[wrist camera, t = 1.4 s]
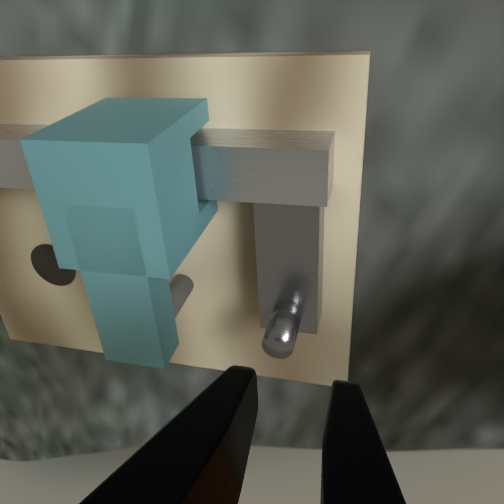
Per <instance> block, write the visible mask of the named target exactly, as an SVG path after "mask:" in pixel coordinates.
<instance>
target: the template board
mask: <svg viewBox="0 0 504 504" xmlns="http://www.w3.org/2000/svg"><path fill="white" fill-rule="evenodd" d="M370 52H371V51H326V52H266V53H206V54H145V55H85V56H25V57H0V124H37V125H51V124H53V123H55V122H57V121H59V120H61V119H63V118H65V117H67V116H69V115H71V114H73V113H75V112H77V111H80V110H82V109H84V108H86V107H88V106H90V105H92V104H94V103H96V102H98V101H100V100H102V99H104V98H207V102H208V112H209V122H207V123H206V124H205V125H204V126H203V127H202V128H218V129H263V130H309V131H335V152H334V179H333V187H332V191H331V195H330V198H329V202H328V206H327V207H325V211H324V248H323V284H322V312H321V317H320V322H319V327H318V332H317V335H316V334H308V333H299V332H298V334H297V338H296V342H295V346H294V350H293V353H292V354H291V356H289V357H288V358H285V359H276V358H273V357H271V356H269V355H267V354H266V353H265V352H264V350H263V348H262V340H263V337H264V334H265V331H266V328H260V317H259V299H258V281H257V263H256V246H255V228H254V210H253V203H250V202H233V201H217V204H218V211H217V213H216V214H215V216H214V217H213V218H212V220H211V221H210V223H209V224H208V226H207V227H206V229H205V230H204V231H203V233H202V234H201V236H200V237H199V239H198V240H197V241H196V243H195V244H194V246H193V247H192V249H191V250H190V252H189V253H188V254H187V256H186V257H185V259H184V260H183V262H182V263H181V265H180V266H179V267H178V269H177V270H176V272H175V273H174V275H173V276H172V278H171V279H168V280H169V284H170V283H171V281H172V280H173V278H174V277H175V276H176V275H179V274H183V275H186V276H188V277H189V278H191V280H192V281H193V283H194V288H193V290H192V292H191V293H190V295H189V297H188V298H187V300H186V301H185V303H184V305H183V306H182V308H181V310H180V311H179V313H178V315H177V316H176V318H175V321H176V327H177V332H178V338H179V345H178V347H177V348H176V350H175V352H174V354H173V356H172V357H171V359H170V361H169V363H176V364H183V365H190V366H197V367H203V368H210V369H217V370H224V371H225V370H227V369H228V368H229V367H230V366H233V365H238V366H245V367H252V368H253V369H255V371H256V375H258V376H265V377H272V378H279V379H285V380H292V381H299V382H306V383H313V384H320V385H327V386H332V383H333V381H334V380H344V381H348V372H349V358H350V343H351V329H352V314H353V299H354V285H355V270H356V256H357V241H358V227H359V212H360V198H361V183H362V169H363V154H364V139H365V125H366V110H367V96H368V81H369V67H370ZM0 315H1V318H2V320H3V322H4V325H5V327H6V330H7V332H8V335H9V337H10V339H12V340H19V341H26V342H33V343H39V344H46V345H53V346H60V347H67V348H74V349H80V350H87V351H94V352H101V353H103V349H102V346H101V342H100V338H99V335H98V331H97V328H96V324H95V321H94V317H93V313H92V310H91V306H90V303H89V299H88V296H87V292H86V289H85V285H84V281H83V278H82V274H81V271H80V270H73V269H63V268H59V266H58V262H57V259H56V256H55V253H54V249H53V246H52V243H51V240H50V236H49V233H48V230H47V226H46V223H45V220H44V217H43V213H42V210H41V207H40V204H39V200H38V197H37V194H36V191H35V190H31V189H14V188H0Z"/></svg>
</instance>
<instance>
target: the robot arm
mask: <svg viewBox="0 0 504 504" xmlns="http://www.w3.org/2000/svg"><path fill="white" fill-rule="evenodd" d="M257 411H258V391H257V376H256V371H255V369H253V368H252V367H245V366H238V365H233V366H230V367H229V368H228V369H227V370H225V371H224V372H223V373H222V374H221V375H220V376H219V377H218V378H217V379H216V380H214V381H213V382H212V383H211V384H210V385H209V386H208V387H207V388H206V389H205V390H203V391H202V392H201V393H200V394H199V395H198V396H197V397H196V398H195V399H194V400H192V401H191V402H190V403H189V404H188V405H187V406H186V407H185V408H184V409H183V410H181V411H180V412H179V413H178V414H177V415H176V416H175V417H174V418H173V419H172V420H170V421H169V422H168V423H167V424H166V425H165V426H164V427H163V428H162V429H161V430H159V431H158V432H157V433H156V434H155V435H154V436H153V437H152V438H151V439H150V440H148V441H147V442H146V443H145V444H144V445H143V446H142V447H141V448H140V449H139V450H138V451H136V452H135V453H134V454H133V455H132V456H131V457H130V458H129V459H128V460H127V461H125V462H124V463H123V464H122V465H121V466H120V467H119V468H118V469H117V470H116V471H114V472H113V473H112V474H111V475H110V476H109V477H108V478H107V479H106V480H105V481H103V482H102V483H101V484H100V485H99V486H98V487H97V488H96V489H95V490H94V491H93V492H91V493H90V494H89V495H88V496H87V497H86V498H85V499H84V500H83V501H82V502H80V503H79V504H238V501H239V496H240V492H241V488H242V484H243V479H244V474H245V470H246V465H247V460H248V455H249V450H250V446H251V441H252V436H253V432H254V427H255V422H256V417H257ZM321 504H406V502H405V500H404V497H403V495H402V492H401V489H400V487H399V484H398V482H397V479H396V477H395V474H394V472H393V469H392V467H391V464H390V461H389V459H388V457H387V454H386V451H385V449H384V446H383V444H382V441H381V439H380V436H379V434H378V431H377V428H376V426H375V423H374V421H373V418H372V416H371V413H370V411H369V408H368V406H367V403H366V400H365V398H364V395H363V393H362V390H361V388H360V386H359V384H358V383H356V382H351V381H344V380H334V381H333V383H332V387H331V393H330V399H329V405H328V411H327V417H326V423H325V429H324V435H323V444H322V475H321Z"/></svg>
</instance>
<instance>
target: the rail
mask: <svg viewBox="0 0 504 504" xmlns="http://www.w3.org/2000/svg"><path fill="white" fill-rule="evenodd" d="M47 126H49V125H37V124H0V188H14V189H31V190H35V187H34V184H33V181H32V177H31V174H30V171H29V168H28V164H27V161H26V158H25V155H24V151H23V148H22V145H21V142H20V139H22V138H24V137H27V136H29V135H31V134H33V133H35V132H37V131H39V130H41V129H43V128H45V127H47ZM190 142H191V150H192V158H193V167H194V175H195V183H196V192H197V199H200V200H217V201H233V202H250V203H267V204H284V205H301V206H318V207H327V206H328V202H329V198H330V195H331V191H332V187H333V179H334V152H335V131H309V130H263V129H218V128H201V129H200V130H198V131H197V132H196V133H195V134H194V135H193V136H192V137H191V138H190Z"/></svg>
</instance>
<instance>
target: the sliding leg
mask: <svg viewBox="0 0 504 504" xmlns="http://www.w3.org/2000/svg"><path fill="white" fill-rule="evenodd" d="M207 122H209V112H208V102H207V98H104V99H102V100H100V101H98V102H96V103H94V104H92V105H90V106H88V107H86V108H84V109H82V110H80V111H77V112H75V113H73V114H71V115H69V116H67V117H65V118H63V119H61V120H59V121H57V122H55V123H53V124H51V125H49V126H47V127H45V128H43V129H41V130H39V131H37V132H35V133H33V134H31V135H29V136H27V137H24V138H22V139H20V142H21V145H22V148H23V151H24V155H25V158H26V161H27V164H28V168H29V171H30V174H31V177H32V181H33V184H34V187H35V191H36V194H37V197H38V200H39V204H40V207H41V210H42V213H43V217H44V220H45V223H46V226H47V230H48V233H49V236H50V240H51V243H52V246H53V249H54V253H55V256H56V259H57V262H58V266H59V268H63V269H73V270H80V271H81V274H82V278H83V281H84V285H85V289H86V292H87V296H88V299H89V303H90V306H91V310H92V313H93V317H94V321H95V324H96V328H97V331H98V335H99V338H100V342H101V346H102V349H103V353H104V356H105V360H108V361H115V362H122V363H128V364H135V365H142V366H148V367H155V368H162V369H165V368H166V366H167V365H168V363H169V361H170V359H171V357H172V356H173V354H174V352H175V350H176V348H177V347H178V345H179V338H178V332H177V327H176V321H175V318H176V316H177V315H178V313H179V311H180V310H181V308H182V306H183V305H184V303H185V301H186V300H187V298H188V297H189V295H190V293H191V292H192V290H193V288H194V283H193V281H192V280H191V278H189V277H188V276H186V275H183V274H179V275H176V276H175V277H174V278H173V280H172V281H171V283H170V284H169V280H168V279H171V278H172V276H173V275H174V273H175V272H176V270H177V269H178V267H179V266H180V265H181V263H182V262H183V260H184V259H185V257H186V256H187V254H188V253H189V252H190V250H191V249H192V247H193V246H194V244H195V243H196V241H197V240H198V239H199V237H200V236H201V234H202V233H203V231H204V230H205V229H206V227H207V226H208V224H209V223H210V221H211V220H212V218H213V217H214V216H215V214H216V213H217V211H218V204H217V200H200V199H197V192H196V183H195V175H194V167H193V158H192V150H191V142H190V138H191V137H192V136H193V135H194V134H195V133H196V132H197V131H198V130H200V129H201V128H202V127H203V126H204V125H205V124H206V123H207Z"/></svg>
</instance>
